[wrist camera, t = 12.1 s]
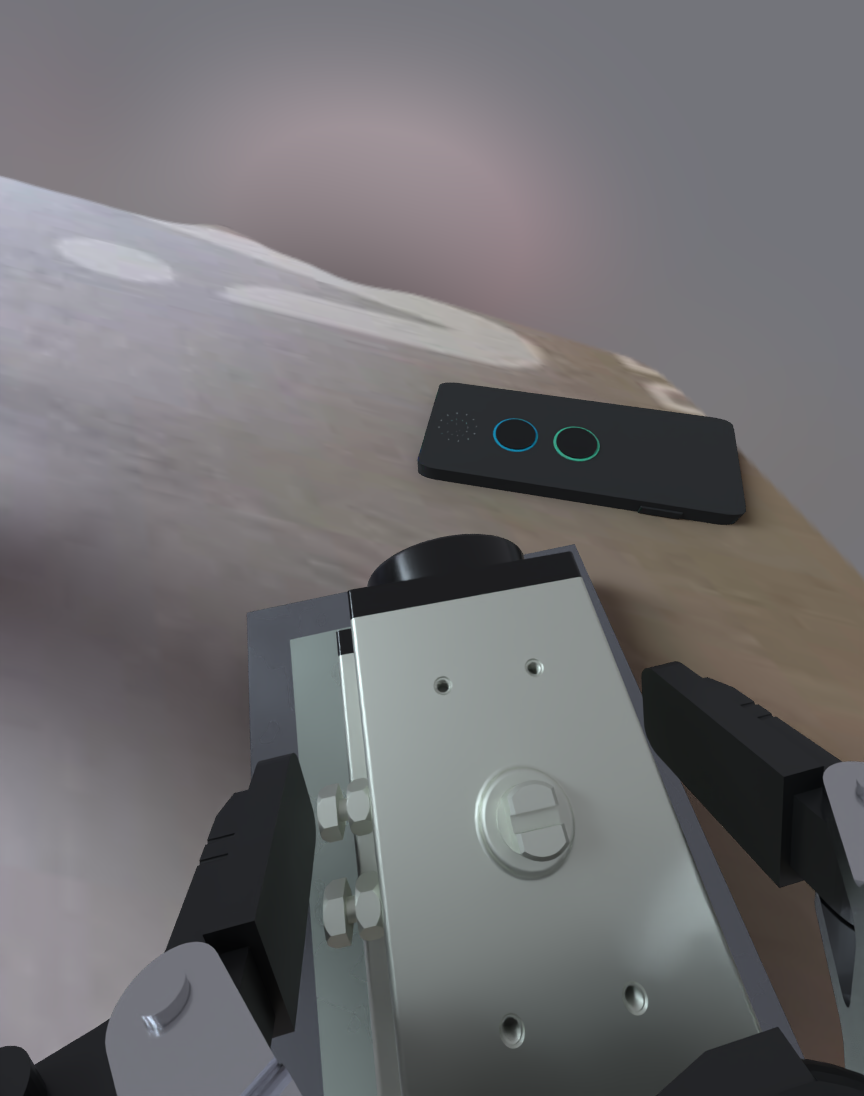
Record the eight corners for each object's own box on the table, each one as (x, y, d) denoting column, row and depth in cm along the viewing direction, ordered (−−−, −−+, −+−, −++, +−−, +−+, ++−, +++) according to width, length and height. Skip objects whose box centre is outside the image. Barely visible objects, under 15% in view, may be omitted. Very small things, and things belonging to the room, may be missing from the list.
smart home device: (440, 377, 33) (733, 416, 31) (440, 396, 35) (719, 435, 32) (414, 465, 29) (749, 518, 27) (415, 482, 31) (732, 533, 28)
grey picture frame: (273, 641, 25) (241, 607, 21) (556, 579, 26) (577, 537, 22) (306, 1225, 15) (258, 1375, 11) (755, 1070, 16) (856, 1151, 12)
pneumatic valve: (497, 648, 20) (563, 461, 9) (598, 1022, 14) (1079, 1646, 3) (368, 674, 19) (284, 506, 9) (416, 1070, 13) (336, 1958, 3)
